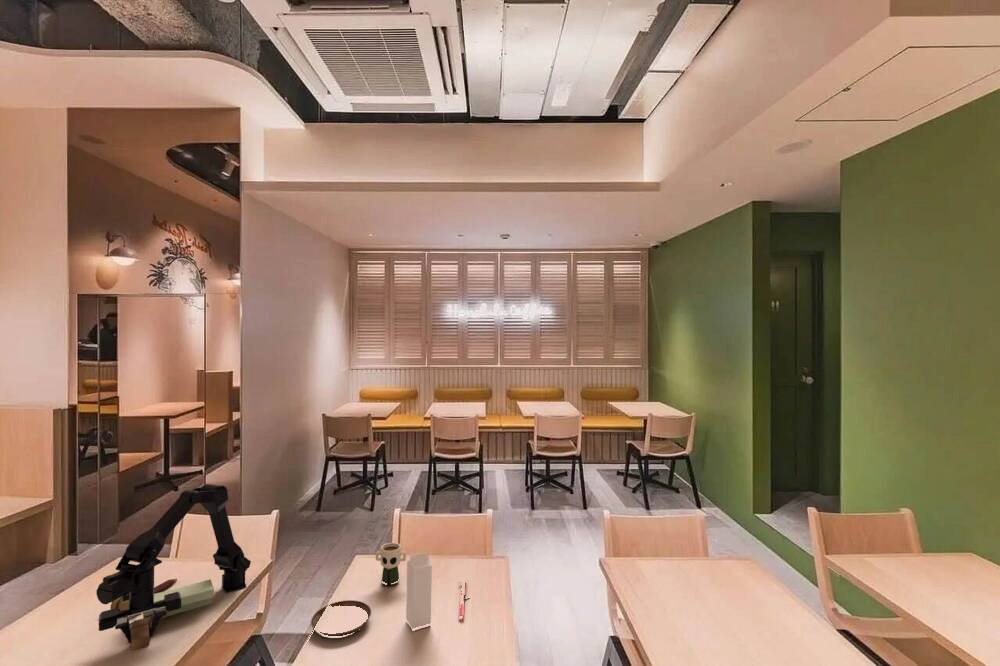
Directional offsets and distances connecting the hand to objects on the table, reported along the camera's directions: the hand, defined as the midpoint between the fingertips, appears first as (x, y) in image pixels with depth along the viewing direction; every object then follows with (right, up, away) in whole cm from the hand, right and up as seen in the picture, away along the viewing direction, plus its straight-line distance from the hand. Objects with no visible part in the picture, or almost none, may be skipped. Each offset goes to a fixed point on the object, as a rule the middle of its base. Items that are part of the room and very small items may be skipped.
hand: (141, 640), depth 138 cm
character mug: (+63, -3, +36) cm, 73 cm away
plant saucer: (+54, -3, +11) cm, 55 cm away
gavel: (-15, -2, +25) cm, 29 cm away
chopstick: (+90, -4, +26) cm, 94 cm away
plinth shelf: (+1, -1, +15) cm, 15 cm away
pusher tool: (-2, -1, +5) cm, 5 cm away
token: (-7, -2, +7) cm, 10 cm away
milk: (+77, -3, +12) cm, 78 cm away
